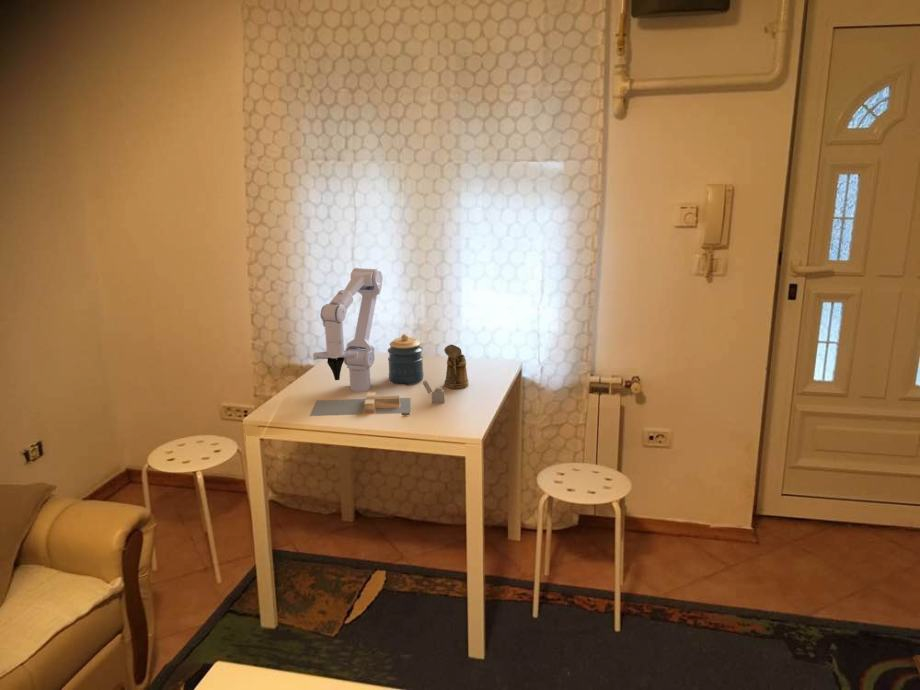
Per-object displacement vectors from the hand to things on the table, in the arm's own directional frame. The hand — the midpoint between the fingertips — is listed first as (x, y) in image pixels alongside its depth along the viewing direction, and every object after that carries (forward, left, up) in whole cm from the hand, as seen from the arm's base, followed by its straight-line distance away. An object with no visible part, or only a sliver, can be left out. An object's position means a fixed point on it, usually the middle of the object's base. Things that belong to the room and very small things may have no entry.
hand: (337, 379), depth 231 cm
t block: (+4, +15, -8) cm, 18 cm away
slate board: (+4, +8, -9) cm, 13 cm away
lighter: (0, +32, -10) cm, 33 cm away
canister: (-25, +22, -10) cm, 35 cm away
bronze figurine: (-15, +40, -10) cm, 44 cm away
